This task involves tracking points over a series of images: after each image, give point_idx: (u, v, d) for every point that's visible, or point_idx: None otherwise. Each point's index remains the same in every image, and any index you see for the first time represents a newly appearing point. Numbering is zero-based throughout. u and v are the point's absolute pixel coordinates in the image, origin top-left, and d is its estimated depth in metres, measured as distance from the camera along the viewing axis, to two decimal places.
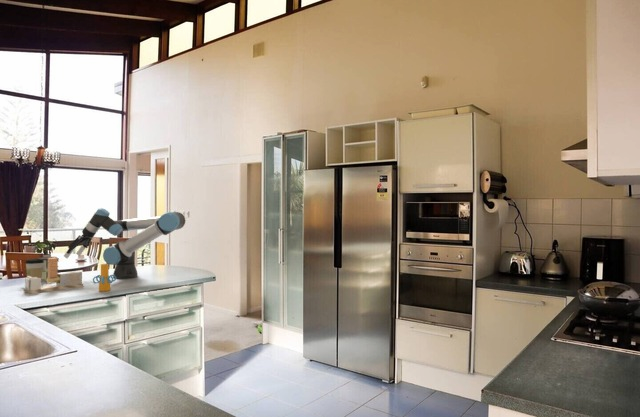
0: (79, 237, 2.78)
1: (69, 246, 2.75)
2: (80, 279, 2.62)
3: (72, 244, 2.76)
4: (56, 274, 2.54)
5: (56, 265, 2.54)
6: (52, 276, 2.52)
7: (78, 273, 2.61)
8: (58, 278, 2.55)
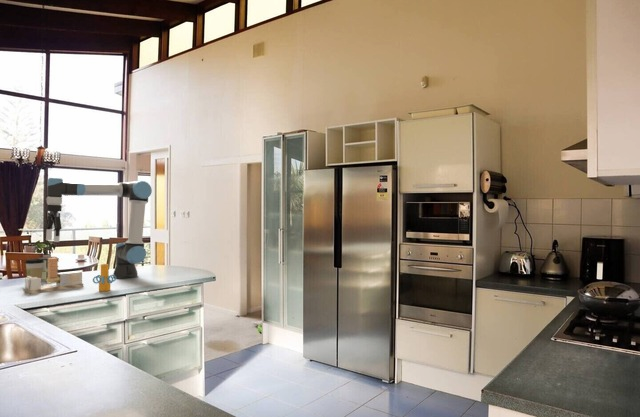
0: (57, 214, 2.51)
1: (57, 227, 2.48)
2: (80, 279, 2.62)
3: (58, 224, 2.49)
4: (56, 274, 2.54)
5: (56, 265, 2.54)
6: (52, 276, 2.52)
7: (78, 273, 2.61)
8: (58, 278, 2.55)
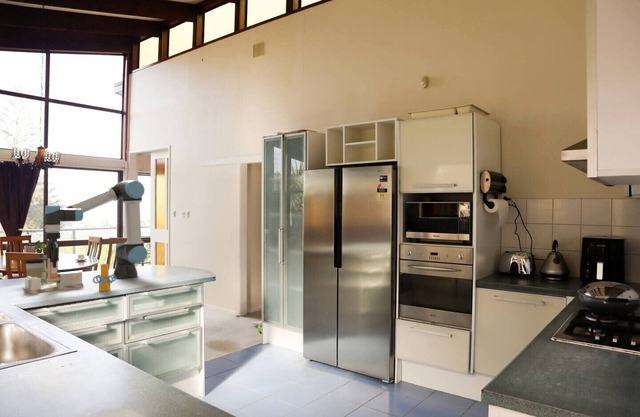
0: (56, 246, 2.49)
1: (54, 259, 2.50)
2: (80, 279, 2.62)
3: (55, 256, 2.50)
4: (56, 274, 2.54)
5: None
6: (52, 276, 2.52)
7: (78, 273, 2.61)
8: (58, 278, 2.55)
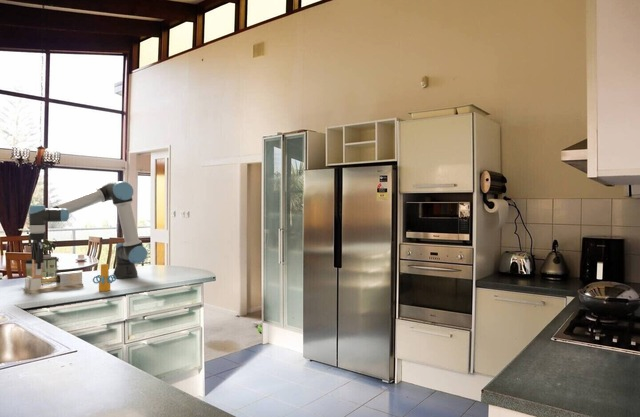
0: (41, 247, 2.43)
1: (39, 260, 2.44)
2: (80, 279, 2.62)
3: (40, 257, 2.44)
4: (41, 276, 2.48)
5: (41, 266, 2.48)
6: (36, 278, 2.46)
7: (78, 273, 2.61)
8: (43, 280, 2.49)
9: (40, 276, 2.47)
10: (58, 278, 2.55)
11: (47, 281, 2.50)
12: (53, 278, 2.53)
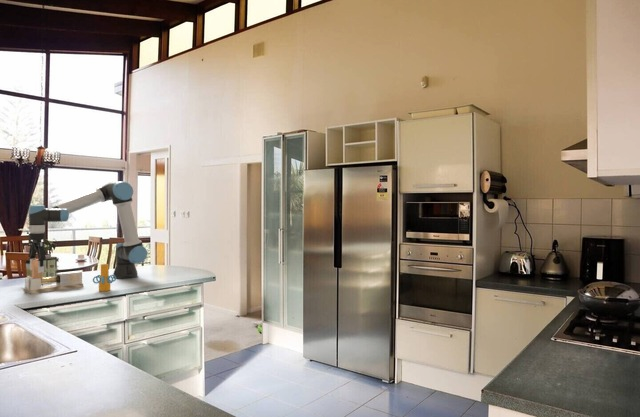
0: (41, 244, 2.43)
1: (41, 257, 2.41)
2: (80, 279, 2.62)
3: (42, 254, 2.42)
4: (40, 276, 2.48)
5: None
6: (36, 278, 2.46)
7: (78, 273, 2.61)
8: (43, 280, 2.49)
9: (40, 276, 2.47)
10: (58, 278, 2.55)
11: (47, 281, 2.50)
12: (53, 278, 2.53)
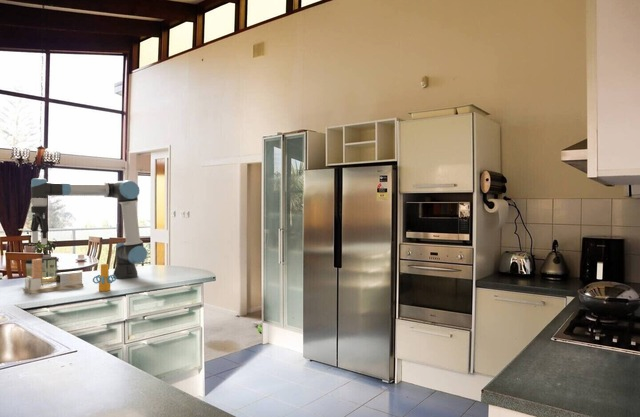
0: (43, 216, 2.44)
1: (44, 229, 2.42)
2: (80, 279, 2.62)
3: (44, 226, 2.42)
4: (40, 276, 2.48)
5: (40, 266, 2.47)
6: (36, 278, 2.46)
7: (78, 273, 2.61)
8: (43, 280, 2.49)
9: (40, 276, 2.47)
10: (58, 278, 2.55)
11: (47, 281, 2.50)
12: (53, 278, 2.53)
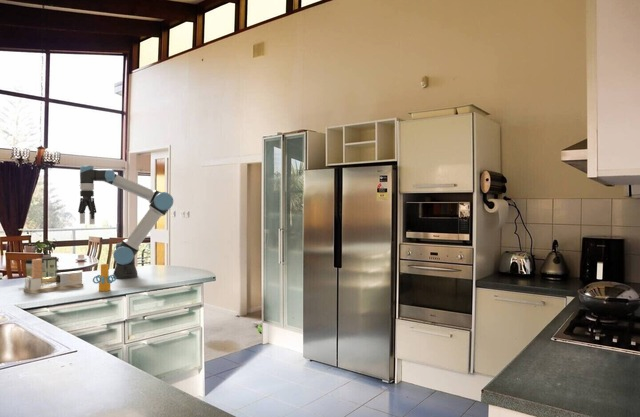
0: (91, 199, 2.73)
1: (93, 210, 2.71)
2: (80, 279, 2.62)
3: (93, 208, 2.72)
4: (40, 276, 2.48)
5: (40, 266, 2.47)
6: (36, 278, 2.46)
7: (78, 273, 2.61)
8: (43, 280, 2.49)
9: (40, 276, 2.47)
10: (58, 278, 2.55)
11: (47, 281, 2.50)
12: (53, 278, 2.53)
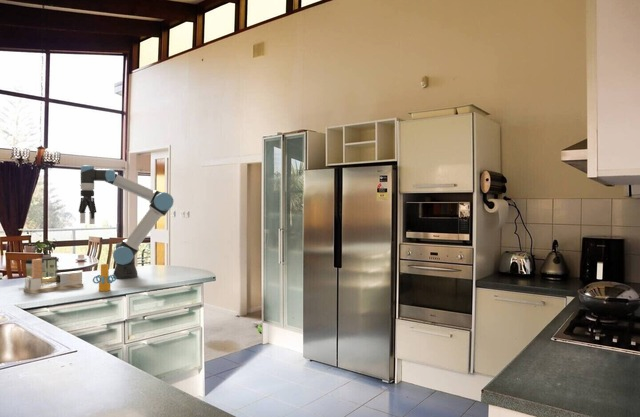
0: (91, 199, 2.73)
1: (93, 210, 2.71)
2: (80, 279, 2.62)
3: (93, 207, 2.72)
4: (40, 276, 2.48)
5: (40, 266, 2.47)
6: (36, 278, 2.46)
7: (78, 273, 2.61)
8: (43, 280, 2.49)
9: (40, 276, 2.47)
10: (58, 278, 2.55)
11: (47, 281, 2.50)
12: (53, 278, 2.53)
